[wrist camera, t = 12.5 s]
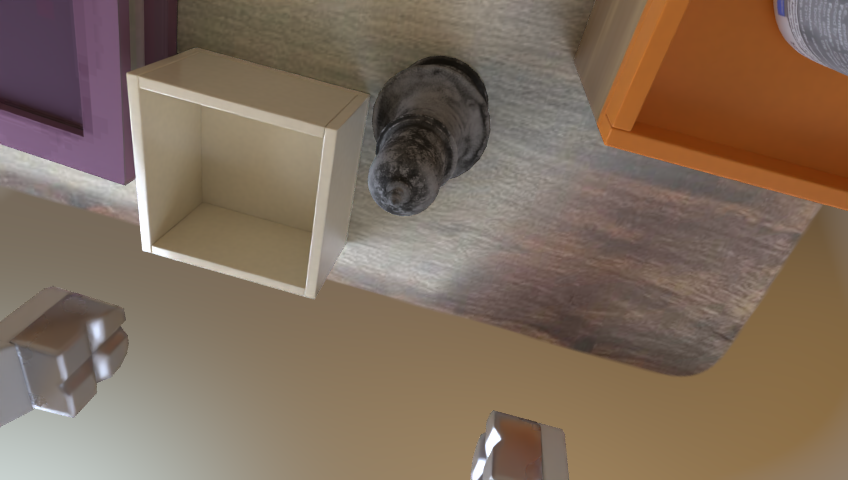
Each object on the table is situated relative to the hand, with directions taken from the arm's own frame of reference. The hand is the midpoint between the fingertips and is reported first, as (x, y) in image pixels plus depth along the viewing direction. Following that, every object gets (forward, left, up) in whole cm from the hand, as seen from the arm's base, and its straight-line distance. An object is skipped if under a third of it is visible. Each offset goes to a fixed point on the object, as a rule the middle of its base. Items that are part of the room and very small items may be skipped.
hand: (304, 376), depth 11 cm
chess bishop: (0, 0, -21) cm, 21 cm away
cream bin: (+9, +5, -21) cm, 23 cm away
